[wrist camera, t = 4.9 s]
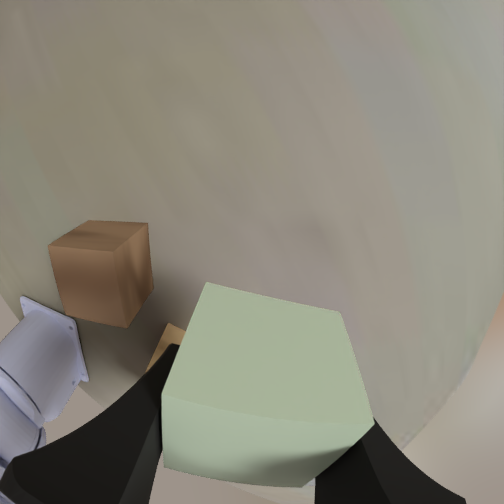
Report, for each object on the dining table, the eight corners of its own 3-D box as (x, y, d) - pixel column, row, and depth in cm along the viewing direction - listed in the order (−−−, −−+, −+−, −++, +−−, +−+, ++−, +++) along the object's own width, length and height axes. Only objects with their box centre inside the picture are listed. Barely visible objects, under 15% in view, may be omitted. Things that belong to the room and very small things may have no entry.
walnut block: (154, 287, 20) (127, 328, 15) (98, 280, 20) (65, 314, 15) (148, 222, 18) (113, 251, 13) (89, 220, 18) (47, 245, 13)
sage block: (296, 393, 12) (301, 487, 7) (191, 373, 12) (163, 466, 7) (339, 311, 10) (374, 424, 5) (206, 281, 10) (161, 394, 5)
